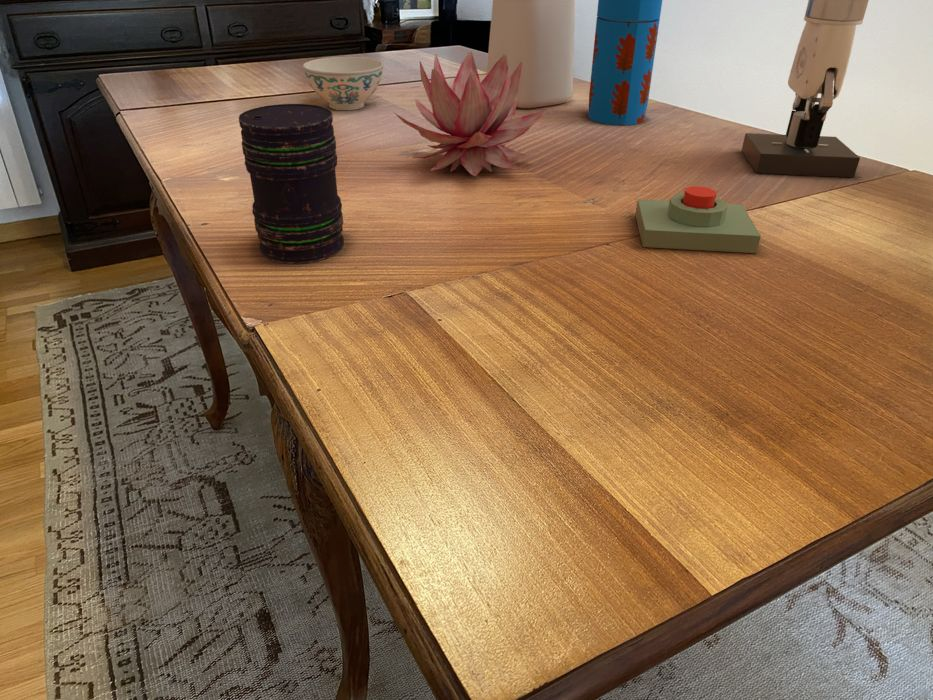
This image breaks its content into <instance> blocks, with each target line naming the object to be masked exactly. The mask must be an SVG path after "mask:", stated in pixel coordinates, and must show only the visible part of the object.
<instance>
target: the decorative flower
mask: <svg viewBox="0 0 933 700" xmlns="http://www.w3.org/2000/svg"><path fill="white" fill-rule="evenodd" d="M433 63H434V64H433V68H432V69H431V74H430V79H429V77H428V76H427V73H426V71H425V69H424V66H423V64H422V62H421V61H420V60H419V71H420V80H421V83H422V85H423V88H424V91H425V94H426V96H427V98H428V101H429V103H430V105H431V110H430V109H428V108H427V107H426V106H425V105H423V104H422V103H421V102H420V101H419V100H418V99H417V98H413V99H414V102H415V105H416V107H417V109H418V111H419V113H420V114H421V115H422V116H423V118H424V119H425V120H426V121H427V122H429V123H430V124H431V125H432V126H433V127H435V128H436V129H438V130H439V131H440V132H437V131H433V130H430V129H427V128H424V127H422V126H420V125H417V124H415V123H414V122H411V121H408V120H407V119H405V118H403V117H402V116H400V115H399V114H398V113H396V112H394V115H395V116H397V117H398V119H399V120H401V122H402V123H403V124H405V125H407V126H408V127H410V128H413V129H414V130H416V131H418V133H419V135H420V137H422V138H424V139H426V140H427V141H430V142H432V143H437V144H436V145H430V144H427V147H430V148H432V149H433V150H434V149H438V150H437V151H435V152H430V153H427V154H424V155H419V156H412V159H421V160H423V159H424V160H426V159H430V158H433V157H435V156H440V155H442V154H443V155H442V156H441V158H440V159H439V160H438V162H437V163H436V164H435V165H434V166H433V167H432V168H431V169H430V170H429V171H431V172H432V171H436V170H442V169H443V170H444V168H447V167H448V166H449V165H451V166H450V171H449V173H451V172H453V171H454V170H456V169H457V168H458V167H459V166H460V165H462V166H463V167H464V168H465V170H466V171H467V172H468V173H469V174H470V175H471V176H474V177H476V176H478V175H479V173H480V172H481V170H483V168H485V169H486V170H488V171H490V172H491V173H492V172H493V170H492V169H493V168H492V165H494V166H496V167H498V168H502V169H509V170H516V169H517V167H516V166H515V164H514V163H513V162H512V161H511V159H510V158H512V159H515V158H522V157H524V158H525V157H528V155H526V154H525V153H522V152H520V151H517V150H515V149H512V148H510V147H507V146H506V144H507V143H510V142H512V141H514V140H515V139H517V138H519V137H521V136H523V135H524V134H526V133H527V132H528V131H529V130H530V128H531V127H532V126H534V125H535V124H536V123H537V122H538V121H539V120H540V119H541V118H542V117H543V116H544V115H545V113H546V112H547V109H546V108H545V109H542V110H539V111H536V112H533V113H530V114H527V115H523V116H519V117H515V118H514V116H515V115H516V109H517V107H516V105H517V101H518V98H517V97H516V95H517V92H518V88H519V83H520V79H521V71H522V61H521V62H520V64H519V65H518V67H517V68H516V69H515V71H514V72H513V74H512V75H511V76H510V69H508V63H507V56H506V55H503V56H502V57H501V58H500V59H499V60H498V61H497V62H496V64H495V65H494V66H493V67H492V69H491V70H490V71H489V73H488V74H487V73H486V74H487V75H486V74H485V76H484V78H483V79H482V80H481V79H480V75H479V71H478V68H477V64H476V61H475V57H474V55H473V51H469V52H467V54H466V56H465V57H464V59H463V61H462V63H461V64H460V66H459V69H458V71H457V73H456V75H455V78H454V80H453V82H452V83H453V84H452V88H451V87H450V84H448V81H447V79H446V77H445V74H444V71H443V69H442V65H441V63H440V59H439V58H438V54H437V53H436V54H435V55H434V62H433ZM441 132H443V133H441Z"/></svg>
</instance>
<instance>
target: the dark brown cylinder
mask: <svg viewBox="0 0 933 700" xmlns="http://www.w3.org/2000/svg"><path fill="white" fill-rule="evenodd" d="M333 121H334V119H333V111H332V110H330V109H329V108H327V107H324V106H320V105H315V104H308V103H279V104H270V105H263V106H258V107H254V108H251V109H248V110H245V111H243V112H241V113H240V114H239V116H238V123H239V127H240V128H241V130H240V136H241V148H242V154H243V156H244V165H245V169H246V171H247V173H248V174H249V176H250V177H249V178H250V182H251V190H252V195H253V202H252V213H251V214H252V215H253V218H254V219H253V223H254V228H255V232H256V233H257V238H258V241H259V251H260V253H261V256H263V257H264V258H265V259H267V260H269V261H272V262H276V263H281V264H289V265H291V264H292V265H298V264H299V265H300V264H301V265H302V264H311V263H315V262H320V261H323V260H326V259H329V258H331V257H333V256H335V255H338V253H340V252H341V251H342V249H343V248H344V246H345V239H344V235H343V232H344V229H343V228H344V227H343V225H344V216H343V211H342V208H343V204H342V199H341V197H340V196H339V194H338V185H337V184H338V183H337V173H336V167H337V165H338V155H337V150H336V149H337V141H336V140H337V139H336V136H335V129H334V126H333V125H334V124H333Z"/></svg>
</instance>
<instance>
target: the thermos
mask: <svg viewBox="0 0 933 700" xmlns="http://www.w3.org/2000/svg"><path fill="white" fill-rule="evenodd" d="M662 6H663V0H598V2H597V10H596V11H597V12H596V19H595V20H596V23H595V31H594V41H593V42H594V43H593V51H592V61H591V63H592V64H591V72H590V73H591V74H590V82H589V93H588V111H587V113H588V114H587V115H588V116H587V118H588V119H589V120H591V121H593V122H596V123H599V124H604V125H611V126H634V125H638V124H641V123H643V122H644V121H645V119H646V113H647V109H648V103H649V99H650V98H649V97H650V91H651V84H652V78H653V77H652V76H653V69H654V62H655V55H656V47H657V42H658V34H659V28H660V27H659V26H660V20H661V19H660V18H661V15H662Z"/></svg>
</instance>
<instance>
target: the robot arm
mask: <svg viewBox="0 0 933 700" xmlns="http://www.w3.org/2000/svg"><path fill="white" fill-rule="evenodd" d="M869 1H870V0H807V5H806V8H805V13H804V16H803V21H804V22H805V24H804V27H803V30H802V33H801V35H800V38H799V42H798V44H797V47H796V51H795V54H794V57H793V58H794V59H793V61H792V65H791V69H790V72H789V76H788V80H787V85H788V87H789V89H791V90H792V91H793V92H794V93H795V94H794V95H795V97H794V100H793V103H792V110H791V112H790V117H789V120H788V124H787V128H786V133H785V135H786V136H787V137H788V134H789V130H790V126H791V122H792V118H793V114H794V112H798V111H805V112H804V119H800V123H799V127H798V131H797V134H796V138H795V142H794V145H795V146H796V147H807V148H815V147H817V145H818V141H819V138H820V136H821V133H822V130H823V127H824V122H825V121H826V119H827V115H828V112H829V110H830V109H831V108H832V107H833V105H834V104H833V103H834V100H835V99H836V98H838V97H839V95H840V93H841V91H842V87H843V84H844V81H845V77H846V74H847V70H848V66H849V62H850V59H851V54H852V50H853V44H854V40H855V35H856V28H857V26H859V25H862V24H863V21H864V18H865V15H866V11H867V8H868V4H869ZM819 94H820V97H818V95H819Z"/></svg>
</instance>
